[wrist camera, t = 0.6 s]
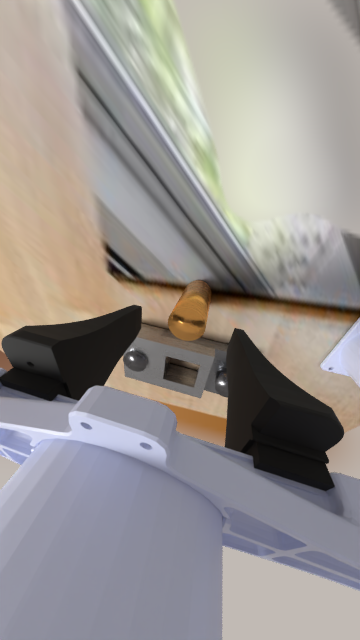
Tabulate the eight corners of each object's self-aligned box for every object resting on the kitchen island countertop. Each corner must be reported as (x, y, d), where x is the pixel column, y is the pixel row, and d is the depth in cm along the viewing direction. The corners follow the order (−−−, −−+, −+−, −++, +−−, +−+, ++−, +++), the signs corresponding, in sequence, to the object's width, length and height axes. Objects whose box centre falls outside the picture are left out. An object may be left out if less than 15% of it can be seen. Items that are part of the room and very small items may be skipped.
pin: (214, 283, 18) (209, 313, 12) (208, 307, 20) (201, 344, 14) (187, 277, 18) (169, 304, 12) (183, 302, 20) (166, 335, 14)
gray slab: (250, 350, 21) (255, 371, 18) (232, 389, 25) (233, 411, 22) (133, 321, 23) (120, 335, 20) (134, 362, 27) (123, 378, 24)
